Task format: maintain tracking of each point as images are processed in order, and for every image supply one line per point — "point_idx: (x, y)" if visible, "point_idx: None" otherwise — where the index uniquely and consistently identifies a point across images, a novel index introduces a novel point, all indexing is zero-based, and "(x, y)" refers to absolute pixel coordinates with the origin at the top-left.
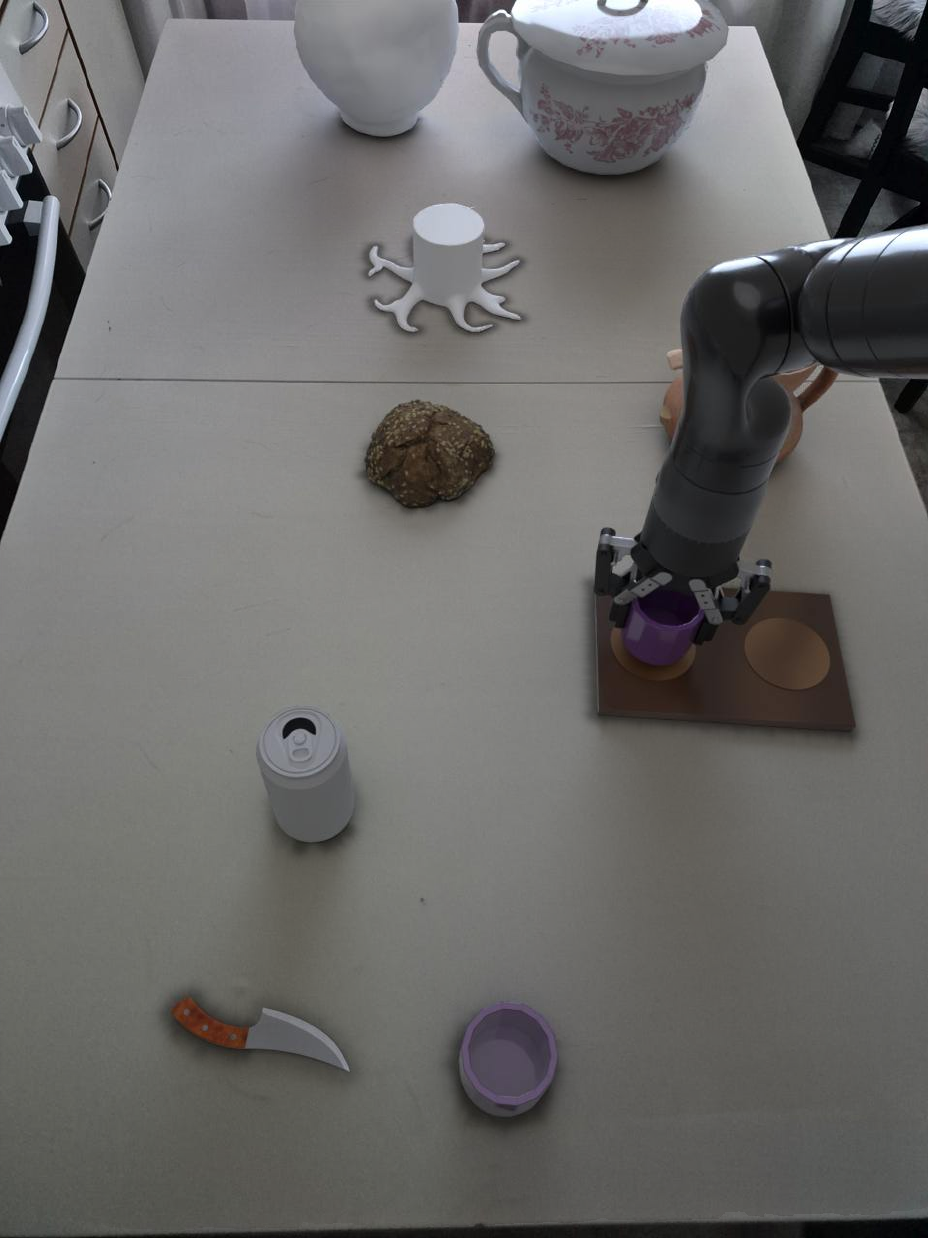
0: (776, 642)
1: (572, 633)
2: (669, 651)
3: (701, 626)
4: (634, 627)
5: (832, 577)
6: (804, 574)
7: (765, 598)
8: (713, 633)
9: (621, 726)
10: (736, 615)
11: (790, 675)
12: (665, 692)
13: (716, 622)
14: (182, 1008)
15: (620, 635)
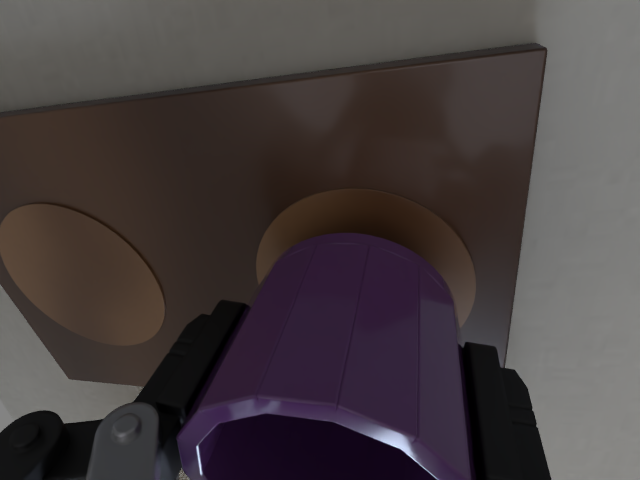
0: (108, 302)
1: (571, 300)
2: (305, 283)
3: (196, 384)
4: (447, 374)
5: (89, 394)
6: (126, 400)
7: None
8: (175, 347)
9: (450, 12)
10: (19, 472)
11: (55, 235)
12: (315, 154)
13: (120, 421)
14: None
15: None
